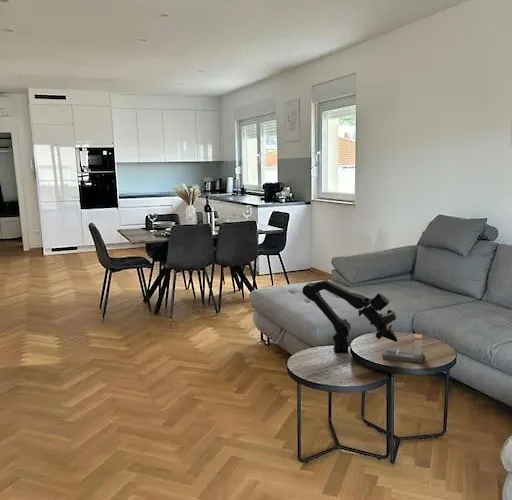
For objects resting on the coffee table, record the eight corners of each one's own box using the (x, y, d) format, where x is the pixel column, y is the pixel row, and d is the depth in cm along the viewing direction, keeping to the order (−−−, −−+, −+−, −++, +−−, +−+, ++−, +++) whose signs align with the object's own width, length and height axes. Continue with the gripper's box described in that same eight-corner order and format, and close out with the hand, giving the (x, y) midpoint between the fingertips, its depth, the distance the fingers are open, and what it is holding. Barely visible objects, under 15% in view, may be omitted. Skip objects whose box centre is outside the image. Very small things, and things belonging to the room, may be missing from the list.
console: (382, 358, 235) (382, 354, 234) (385, 351, 244) (385, 347, 243) (422, 362, 228) (422, 358, 227) (423, 355, 237) (423, 350, 237)
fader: (413, 355, 231) (414, 337, 230) (414, 351, 236) (414, 333, 234) (420, 356, 230) (421, 338, 228) (421, 352, 235) (422, 334, 233)
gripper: (383, 311, 226) (407, 337, 224) (388, 301, 243) (411, 324, 241) (365, 326, 231) (389, 351, 228) (372, 315, 248) (394, 338, 245)
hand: (396, 341), depth 236 cm, fingers closed
